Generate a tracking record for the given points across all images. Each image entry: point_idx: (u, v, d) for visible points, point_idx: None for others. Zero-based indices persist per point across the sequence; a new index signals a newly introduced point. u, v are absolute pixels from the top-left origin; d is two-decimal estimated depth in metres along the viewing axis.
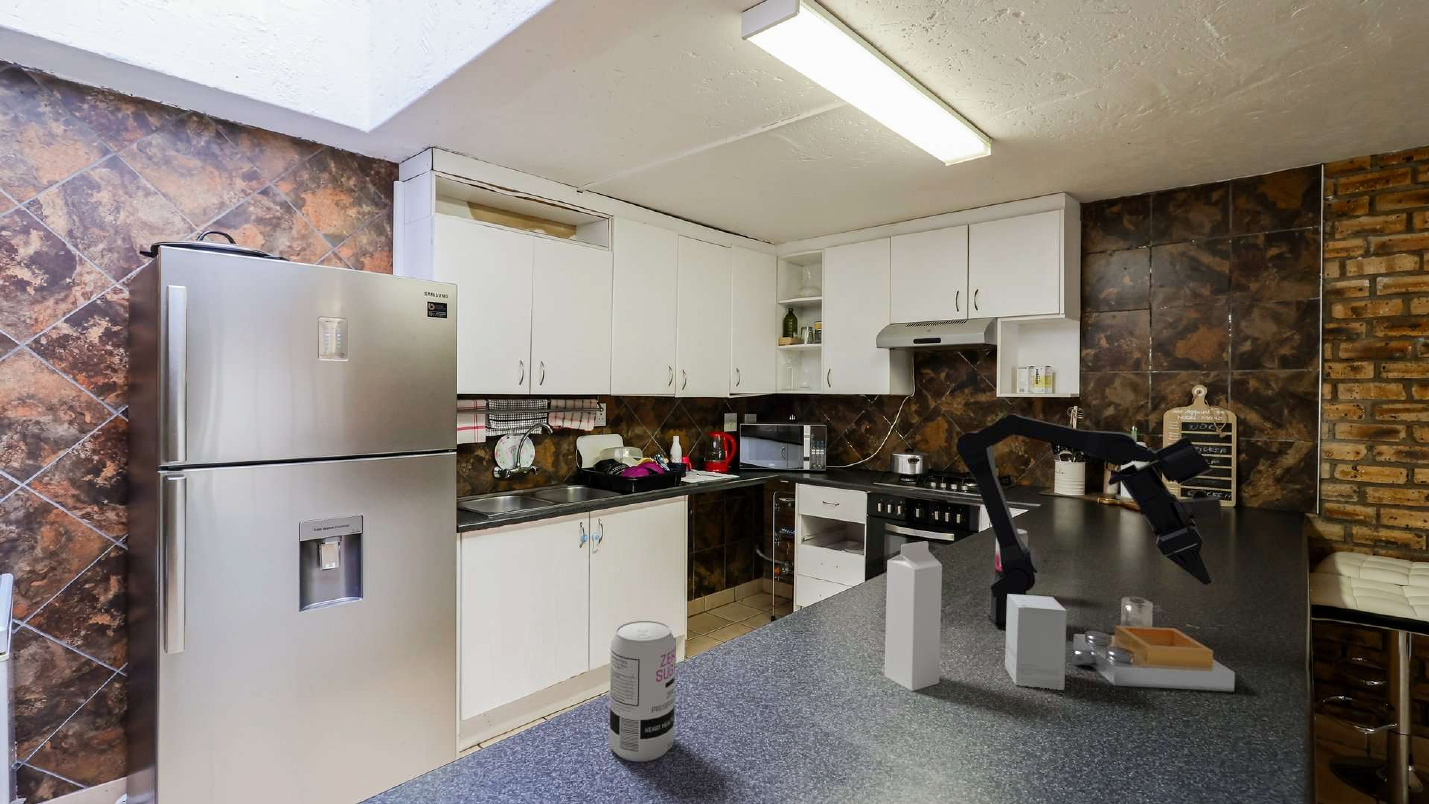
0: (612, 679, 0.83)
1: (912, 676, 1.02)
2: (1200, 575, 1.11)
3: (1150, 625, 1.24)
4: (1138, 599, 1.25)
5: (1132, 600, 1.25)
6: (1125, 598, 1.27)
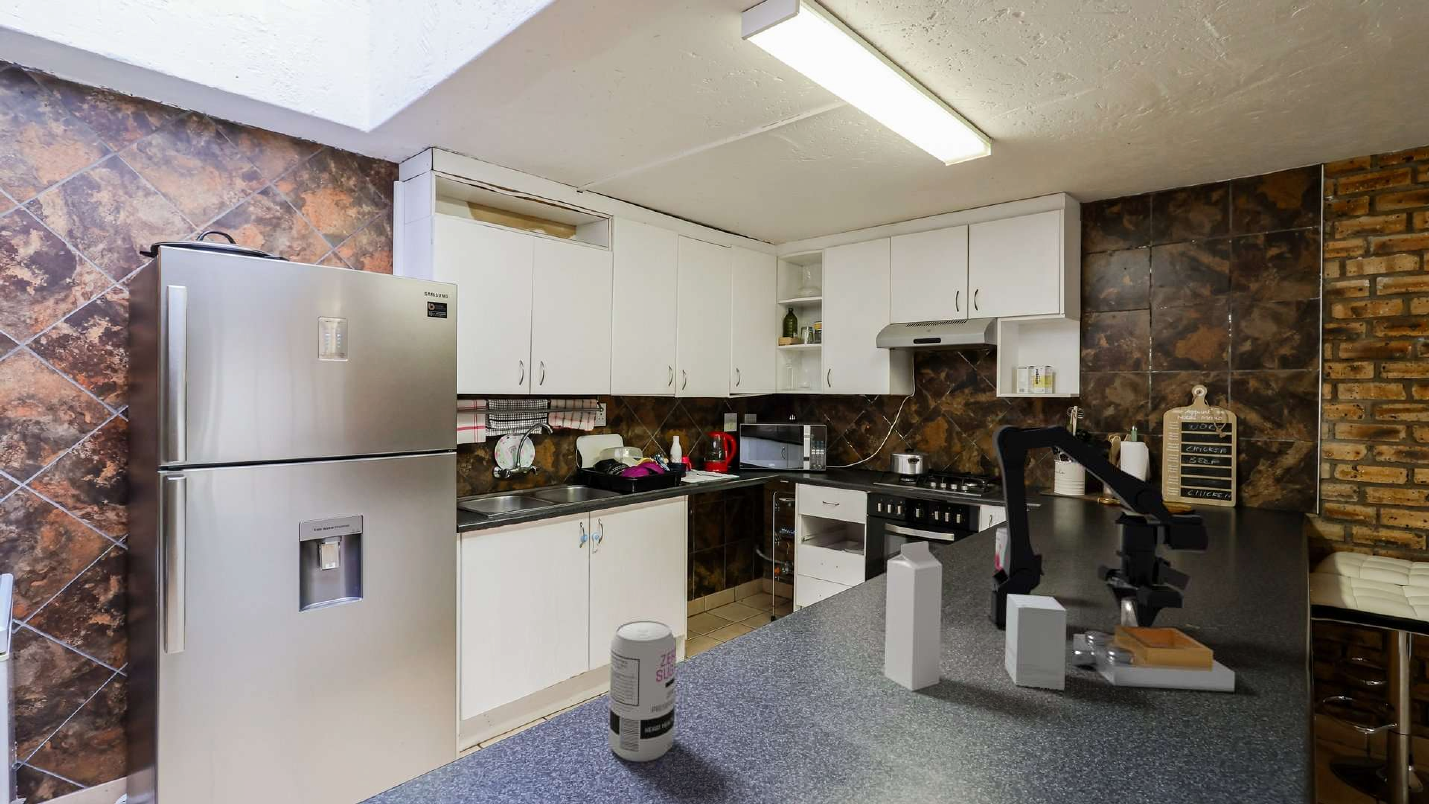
0: (612, 679, 0.83)
1: (912, 676, 1.02)
2: (1145, 626, 1.23)
3: None
4: None
5: None
6: (1125, 598, 1.27)
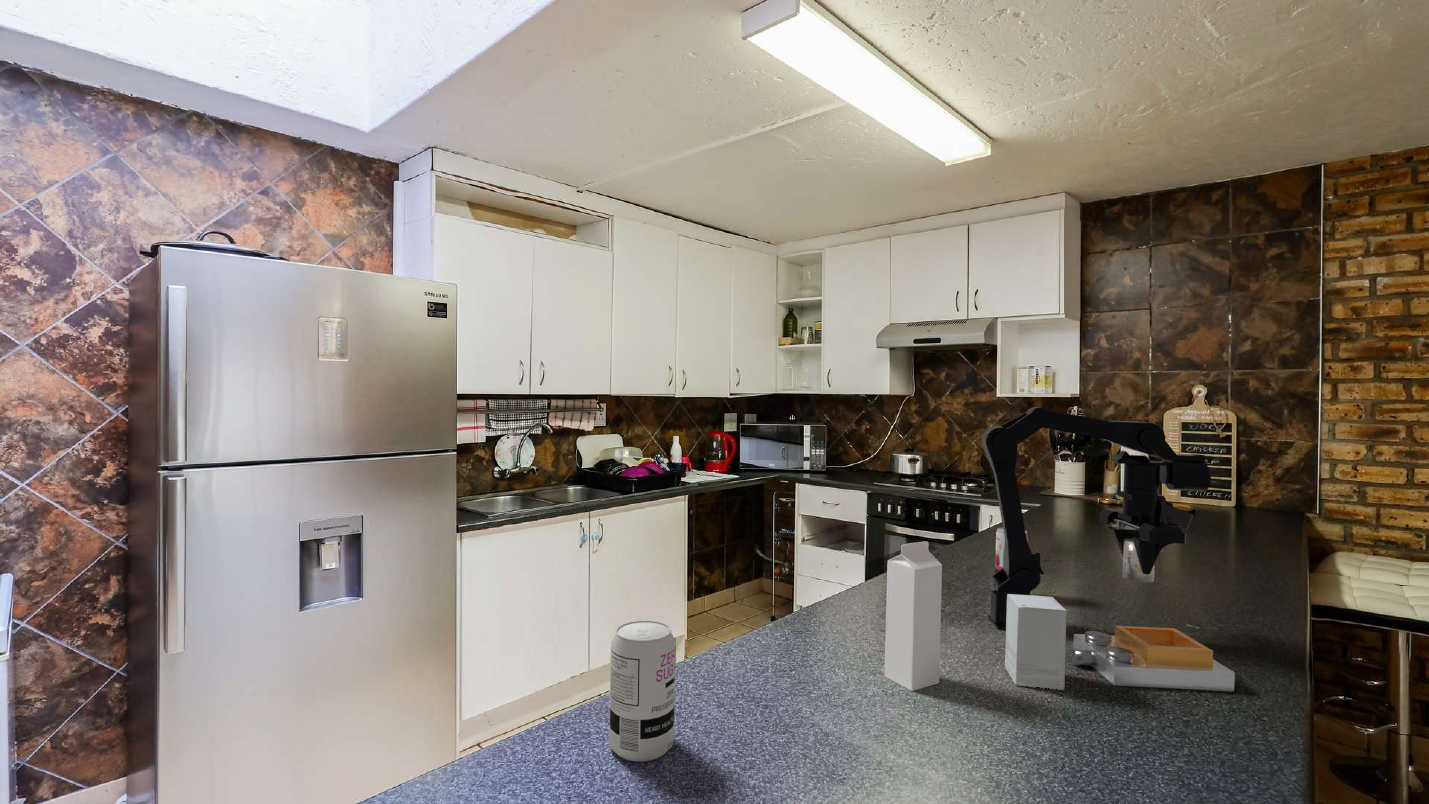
0: (612, 679, 0.83)
1: (912, 676, 1.02)
2: (1147, 565, 1.22)
3: None
4: None
5: None
6: (1127, 539, 1.27)
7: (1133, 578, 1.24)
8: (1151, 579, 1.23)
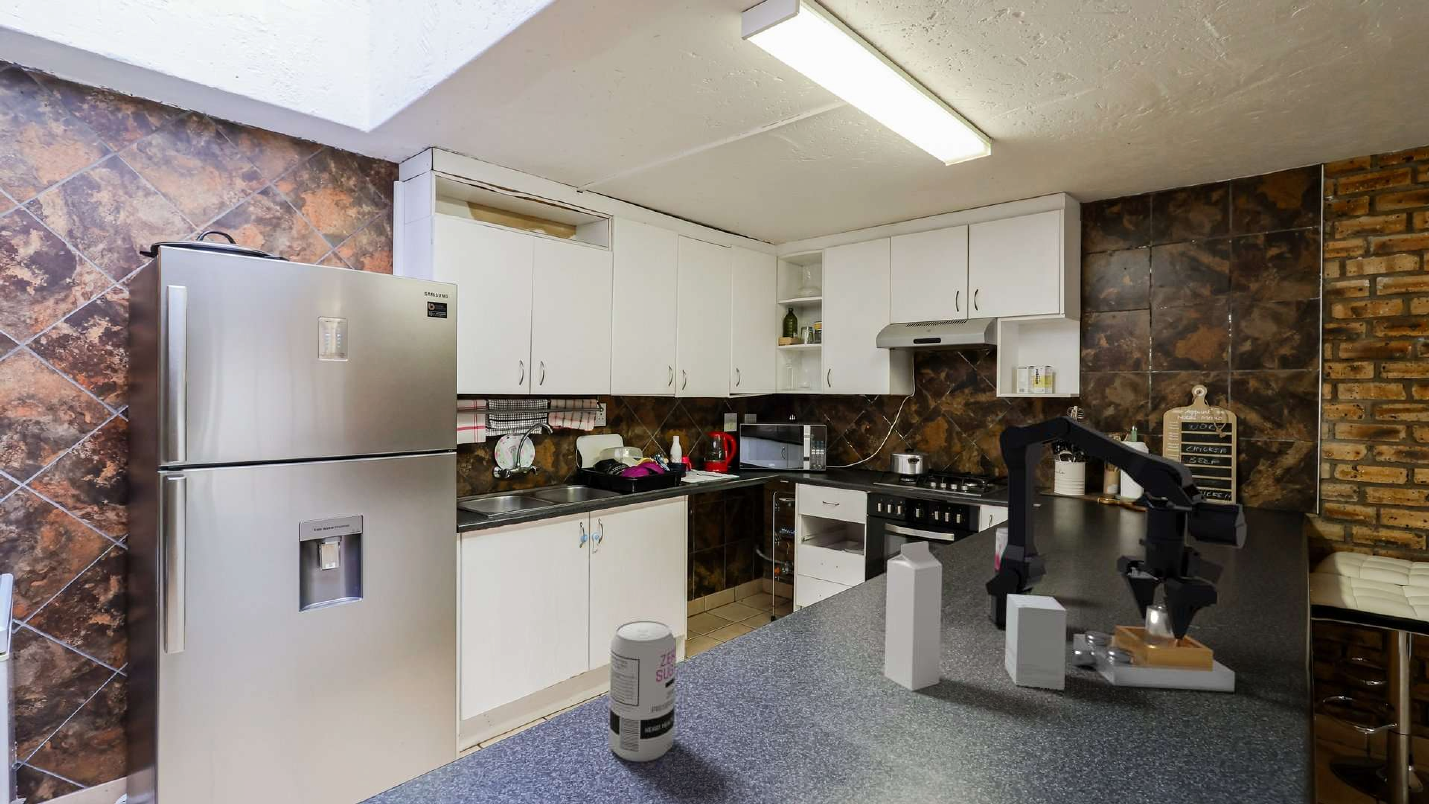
0: (612, 679, 0.83)
1: (912, 676, 1.02)
2: (1180, 629, 1.06)
3: None
4: None
5: (1159, 608, 1.11)
6: (1151, 606, 1.13)
7: None
8: None
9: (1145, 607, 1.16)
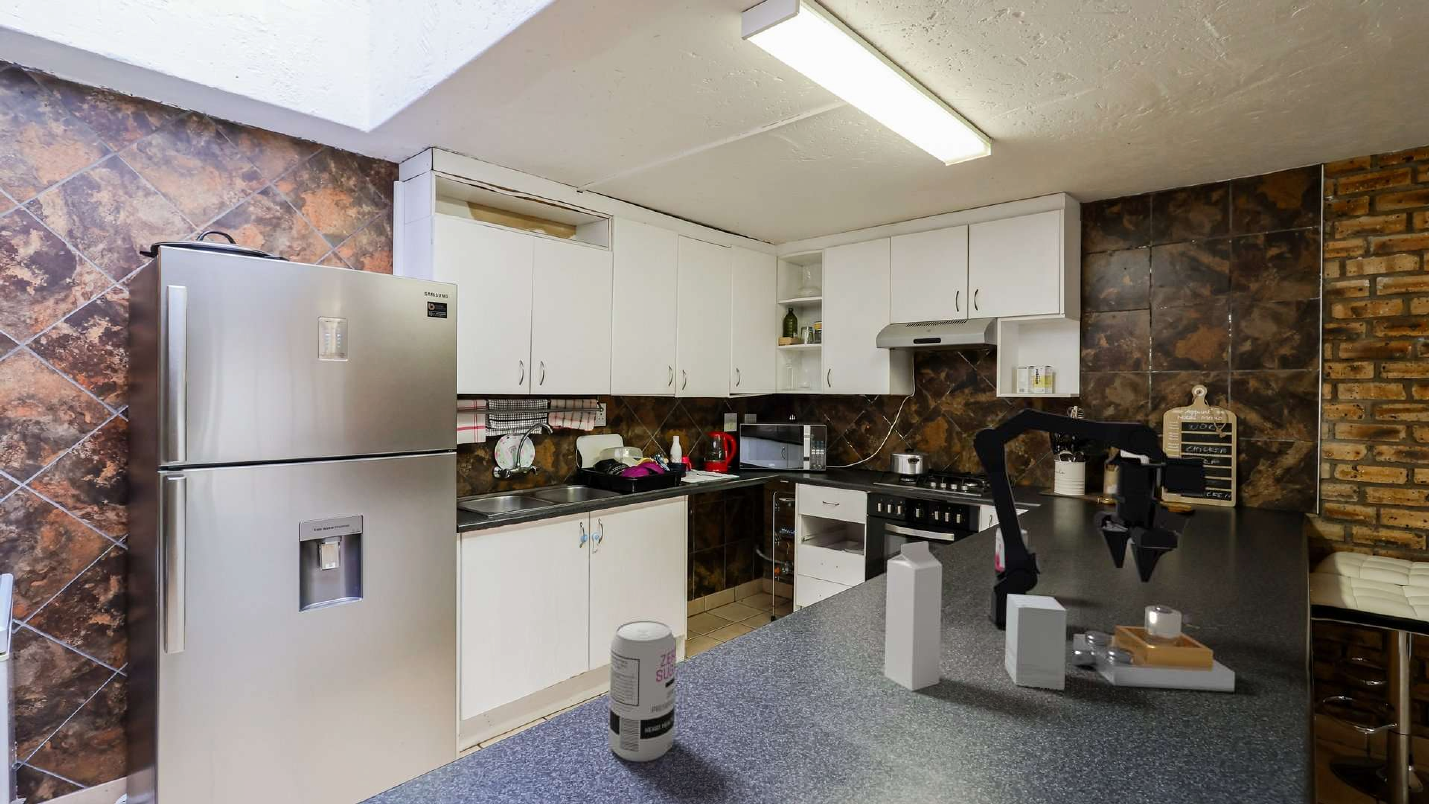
0: (612, 679, 0.83)
1: (912, 676, 1.02)
2: (1145, 573, 1.17)
3: (1179, 638, 1.09)
4: (1165, 609, 1.10)
5: (1158, 610, 1.11)
6: (1149, 607, 1.13)
7: None
8: None
9: (1118, 557, 1.27)
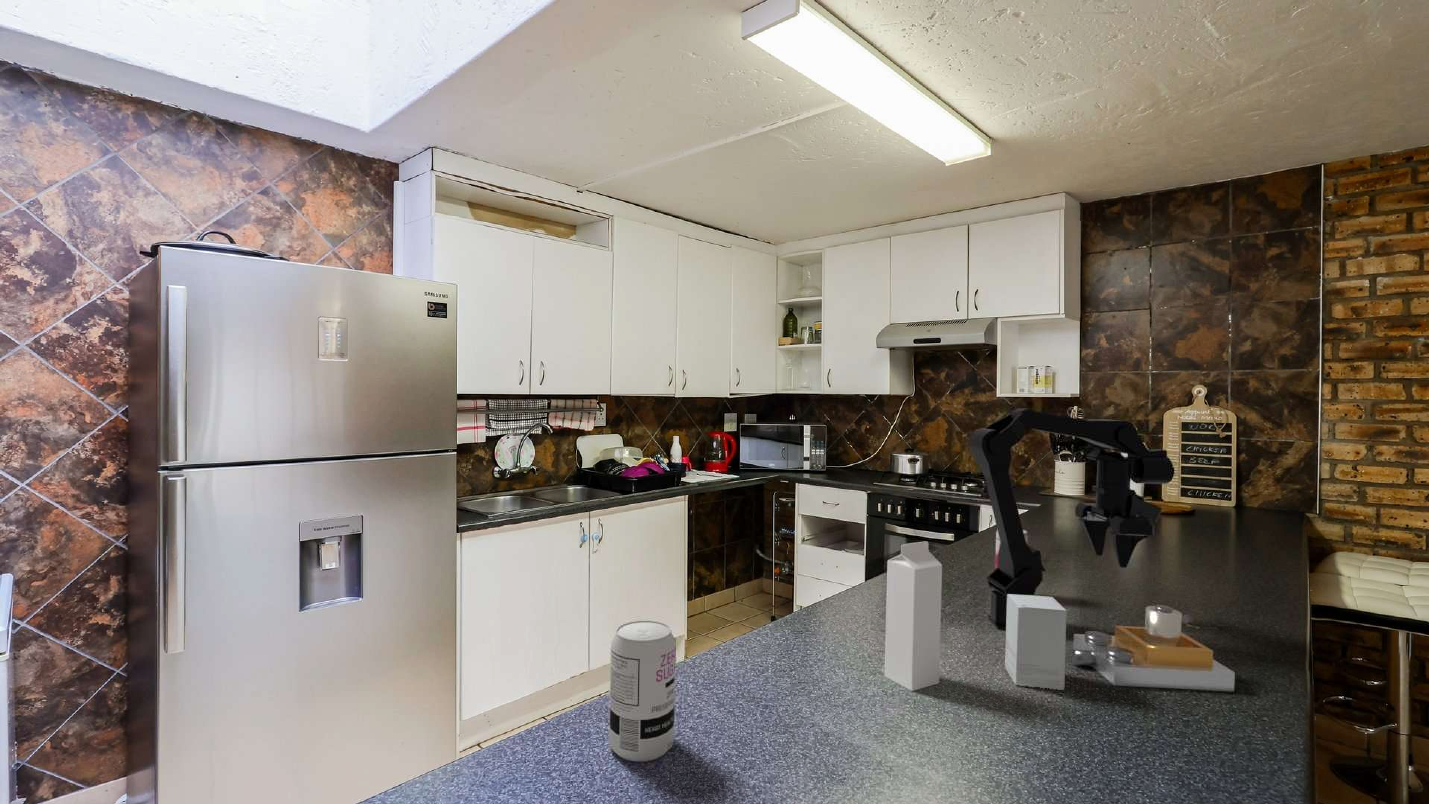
0: (612, 679, 0.83)
1: (912, 676, 1.02)
2: (1123, 559, 1.26)
3: (1179, 638, 1.09)
4: (1165, 608, 1.10)
5: (1159, 609, 1.11)
6: (1149, 607, 1.13)
7: None
8: None
9: (1098, 545, 1.36)
